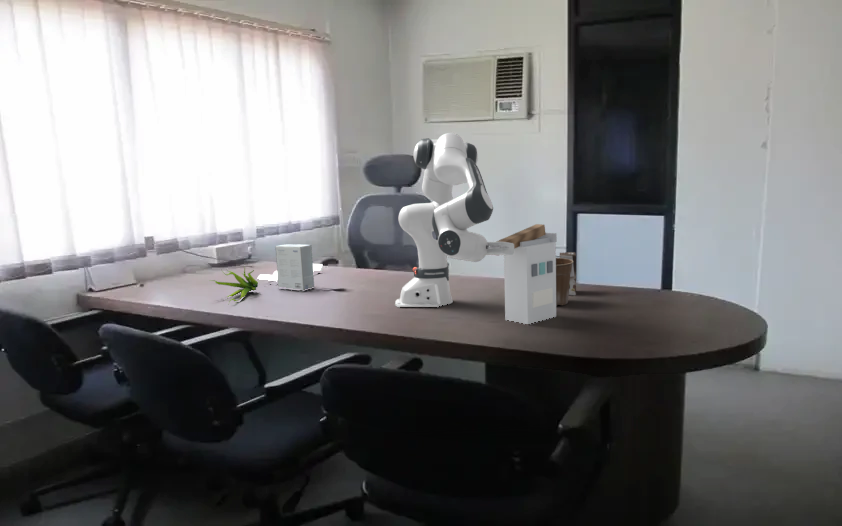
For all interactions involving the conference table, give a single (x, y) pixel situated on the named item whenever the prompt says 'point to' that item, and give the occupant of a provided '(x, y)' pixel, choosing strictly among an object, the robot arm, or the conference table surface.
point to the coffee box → (573, 273)
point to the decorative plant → (241, 284)
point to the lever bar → (525, 235)
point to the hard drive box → (295, 266)
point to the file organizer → (275, 275)
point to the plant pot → (562, 280)
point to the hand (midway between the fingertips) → (491, 251)
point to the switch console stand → (531, 280)
